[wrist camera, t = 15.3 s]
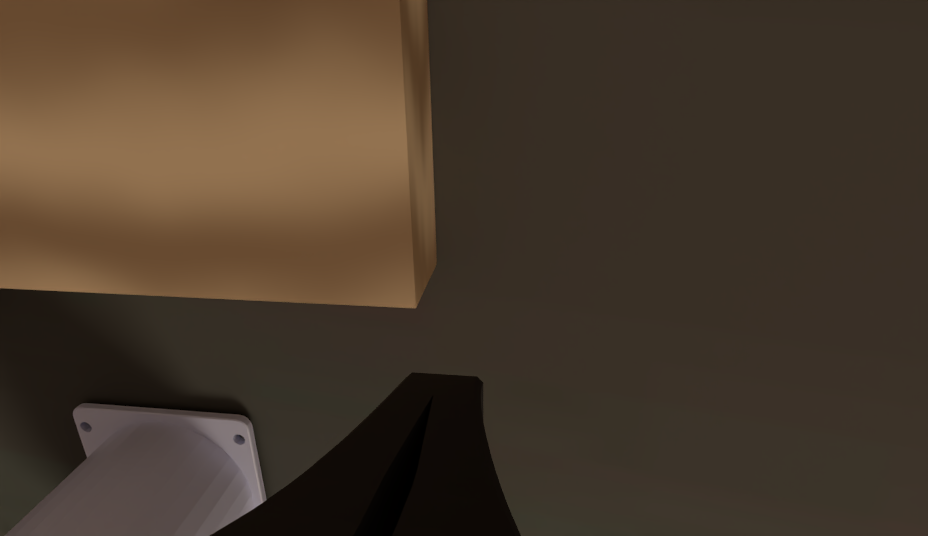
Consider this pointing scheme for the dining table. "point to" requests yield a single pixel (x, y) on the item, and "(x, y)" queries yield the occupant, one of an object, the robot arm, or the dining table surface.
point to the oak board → (218, 149)
